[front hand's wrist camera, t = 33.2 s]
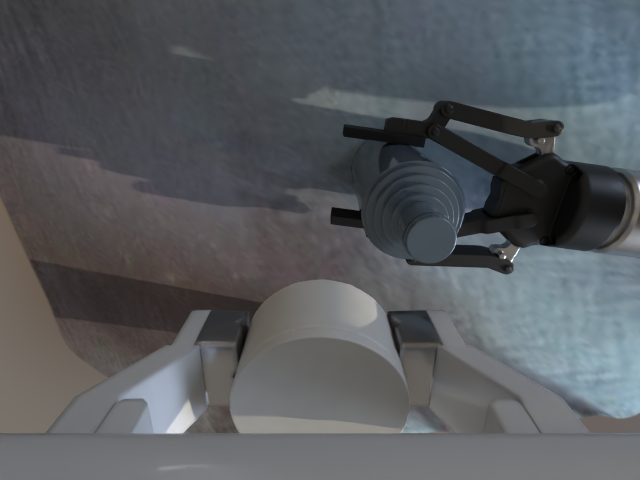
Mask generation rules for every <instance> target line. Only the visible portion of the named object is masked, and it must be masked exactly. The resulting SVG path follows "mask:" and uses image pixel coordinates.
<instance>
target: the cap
mask: <svg viewBox="0 0 640 480" xmlns="http://www.w3.org/2000/svg"><path fill="white" fill-rule="evenodd" d="M230 411H231V416H232V419H233V422H234V425H235V427H236V428H237V430H238V432H239V433H401V432H402V431H403V429H404V427H405V425H406V423H407V420H408V416H409V412H410V394H409V390H408V386H407V383H406V379H405V375H404V372H403V368H402V364H401V361H400V358H399V354H398V351H397V347H396V344H395V340H394V335H393V332H392V329H391V325H390V322H389V319H388V317H387V315H386V313H385V312H384V310H383V309H382V307H381V306H380V305H379V304H378V303H377V302H376V301H375V300H374V299H373V298H372V297H370V296H369V295H368V294H366V293H364V292H363V291H361V290H360V289H358V288H355V287H354V286H352V285H350V284H345V283H342V282H337V281H331V280H325V279H324V280H323V279H321V280H309V281H303V282H297V283H294V284H292V285H290V286H287V287H285V288H283V289H281V290H279V291H277V292H276V293H274V294H273V295H271V296H270V297H269V298H268V299H267V300H266V301H265V302H263V303H262V304H261V306H260V307H259V308H258V310H257V311H256V313H255V315H254V316H253V318H252V321H251V324H250V326H249V330H248V333H247V337H246V340H245V344H244V347H243V351H242V354H241V357H240V361H239V364H238V368H237V371H236V375H235V379H234V381H233V385H232V388H231V393H230Z"/></svg>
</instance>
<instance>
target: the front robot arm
mask: <svg viewBox="0 0 640 480" xmlns="http://www.w3.org/2000/svg"><path fill="white" fill-rule="evenodd" d="M387 317H388V319H389V322H390V325H391V329H392V332H393V335H394V340H395V344H396V347H397V351H398V354H399V358H400V361H401V364H402V368H403V372H404V375H405V379H406V383H407V386H408V390H409V394H410V406H423V407H429V409H430V410H431V411H432V412H433V413H434V414H435V415H436V416H437V417H438V418H439V419H440V420H441V421H442V422H443V423H444V424H445V425H446V426H447V427H448V428H449V429H450V430H451V431H452V432H453V433H184V432H185V431H186V430H187V429H188V428H189V427H190V426H191V425H192V424H193V423H194V422H195V421H196V420H197V419H198V418H199V417H200V416H201V415H202V414H203V413H204V412H205V411H206V410H207V409H208V407H214V406H230V393H231V388H232V385H233V381H234V379H235V375H236V371H237V368H238V364H239V361H240V357H241V354H242V351H243V347H244V344H245V340H246V337H247V333H248V330H249V326H250V324H251V318H250V313H249V311H231V310H194V311H192V312H191V313H190V314H189V316H188V318H187V319H186V321H185V323H184V324H183V326H182V328H181V330H180V331H179V333H178V335H177V336H176V338H175V340H174V341H173V343H172V345H171V346H164V347H162V348H160V349H158V350H157V351H155V352H153V353H151V354H150V355H148V356H146V357H144V358H143V359H141V360H139V361H137V362H135V363H134V364H132V365H130V366H128V367H127V368H125V369H123V370H121V371H120V372H118V373H116V374H114V375H113V376H111V377H109V378H107V379H106V380H104V381H102V382H100V383H99V384H97V385H95V386H93V387H91V388H90V389H88V390H86V391H85V392H83V393H81V394H79V395H77V396H76V397H74V398H73V400H72V401H71V402H70V403H69V405H68V406H67V407H66V408H65V410H64V411H63V412H62V413H61V415H60V416H59V417H58V418H57V419H56V421H55V422H54V423H53V425H52V426H51V427H50V428H49V429H48V431H47V432H46V433H0V480H640V433H590V432H589V431H588V430H587V429H586V428H585V426H584V425H583V424H582V422H581V421H580V420H579V419H578V417H577V416H576V415H575V414H574V412H573V411H572V410H571V408H570V407H569V406H568V405H567V403H566V402H565V401H564V400H563V398H562V397H560V396H558V395H557V394H555V393H553V392H551V391H550V390H548V389H546V388H544V387H543V386H541V385H539V384H537V383H536V382H534V381H532V380H530V379H529V378H527V377H525V376H523V375H522V374H520V373H518V372H517V371H515V370H513V369H511V368H510V367H508V366H506V365H504V364H503V363H501V362H499V361H497V360H496V359H494V358H492V357H490V356H489V355H487V354H485V353H483V352H482V351H480V350H478V349H476V348H475V347H473V346H466V345H465V344H464V342H463V340H462V338H461V337H460V335H459V333H458V332H457V330H456V328H455V327H454V325H453V323H452V321H451V320H450V318H449V316H448V315H447V313H446V311H444V310H423V311H388V313H387Z"/></svg>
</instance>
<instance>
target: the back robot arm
mask: <svg viewBox="0 0 640 480" xmlns="http://www.w3.org/2000/svg"><path fill="white" fill-rule="evenodd" d="M450 119H453V120H457V121H461V122H464V123H468V124H472V125H476V126H480V127H484V128H487V129H491V130H495V131H499V132H503V133H507V134H511V135H515V136H520V137H524V142H525V143H526V144H527V145H529V146H533V147H534V148H535V149H536V153H534V154H532V155H530V156H528V157H526V158H524V159H522V160H520V161H518V162H516V163H514V164H512V165H510V164H508V163H506V162H504V161H502V160H500V159H498V158H497V157H495V156H493V155H491V154H490V153H488V152H486V151H484V150H483V149H481V148H479V147H477V146H476V145H474V144H472V143H470V142H469V141H467V140H465V139H463V138H462V137H460V136H458V135H456V134H455V133H453V132H451V131H449V130H448V129H446V128H445V126H446V124H447V123H448V121H449V120H450ZM563 129H564V125H563V123H562V122H560V121H554V120H545V119H537V120H528V121H524V120H520V119H516V118H513V117H509V116H505V115H501V114H497V113H494V112H490V111H486V110H482V109H478V108H475V107H471V106H467V105H463V104H459V103H456V102H452V101H439V102H437V103H436V104H435V106H434V109H433V111H432V113H431V115H430V116H429V117H428V118H427V119H426V120H423V121H417V120H410V119H403V118H396V117H390V118H386V121H385V127H384V130H381V129H374V128H367V127H360V126H353V125H346V124H344V128H343V136H344V137H351V138H358V139H366V140H373V141H380V142H387V143H395V144H402V145H409V146H416V147H423V148H424V144H425V139H426V138H429V139H431V140H433V141H434V142H436V143H438V144H440V145H442V146H443V147H445V148H447V149H449V150H451V151H452V152H454V153H456V154H458V155H459V156H461V157H463V158H465V159H467V160H468V161H470V162H472V163H474V164H475V165H477V166H479V167H481V168H483V169H484V170H486V171H488V172H489V173H491V174H493V175H495V176H493V178H492V182H491V192H490V195H489V196H488V198H487V200H486V202H485V205H484V208H479V209H474V210H472V211H471V212H468V213H465V214H464V219H463V222H462V224H461V227H460V229H459V231H458V233H457V237H462V236H467V235H473V234H478V233H484V234H490V233H496V232H500V233H501V234H502V235H503V236H504V237H505V238H506V239H507V241H506V242H505V243H503V244H491V245H490V246H489V248H487V247H484V246H477V245H455V248H454V250H453V251H452V253H451V254H450V255H449V256H448V257H446V258H445V259H443V260H442V261H439V262H436V263H422V262H419V261H417V260H415V259H406V261H407V263H408V264H409V265H421V266H452V267H483V268H490V269H493V270H495V271H498V272H500V273H503V274H510V273H512V272H513V270H514V265H513V263H511V262H512V260H513V258H514V257H515V255H516V254H517V252H518V251H519V249H520V248H525V247H529V246H532V245H544V246H550V247H558V248H565V249H573V250H580V251H591V252H595V253H601V254H610V255H619V256H628V257H636V258H640V171H636V170H629V169H622V168H610V167H607V166H601V165H594V164H587V163H579V162H572V161H565V160H562V159H561V158H560V157H559V156H558V155H556V154H554V146H555V137H556V136H558V135H560V134H561V133H562V131H563ZM331 224H334V225H341V226H349V227H357V228H364V227H363V224H362V220H361V215H360V211H356V210H349V209H341V208H334V207H332V210H331ZM366 237H368V236H367V235H366Z"/></svg>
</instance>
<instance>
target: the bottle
mask: <svg viewBox="0 0 640 480" xmlns="http://www.w3.org/2000/svg"><path fill="white" fill-rule="evenodd" d="M352 177H353V182H354V186H355V191H356V196H357V201H358V205H359V210H360V215H361V220H362V224H363V227H364V230H365V233H366V235H367V236H368V238H369V239H370V241H371V242H372V243H373V244H374V245H375V246H376V247H377V248H378V249H379V250H381V251H382V252H384V253H386V254H388V255H390V256H393V257H397V258H402V259H415V260H417V261H419V262H422V263H436V262H439V261H442V260H443V259H445V258H446V257H448V256H449V255H450V254H451V253H452V251H453V250H454V248H455V245H456V241H457V233H458V231H459V229H460V227H461V224H462V222H463V219H464V214H465V198H464V193H463V191H462V188H461V186H460V184H459V182H458V181H457V179H456V178H455V177H454V176H453V175H452V174H451V173H450V172H449V171H448V170H446V169H445V168H444V167H442V166H441V165H439V164H438V163H436V162H435V161H434V160H432V159H431V158H429V157H428V156H426V155H425V154H424V153H422V152H421V151H419V150H418V149H416V148H415V147H414V146H409V145H402V144H395V143H387V142H380V141H373V140H367V141H366V142H364V143H363V144H362V145H361V146H360V147H359V149H358V150H357V152H356V154H355V155H354V158H353V162H352Z"/></svg>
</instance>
